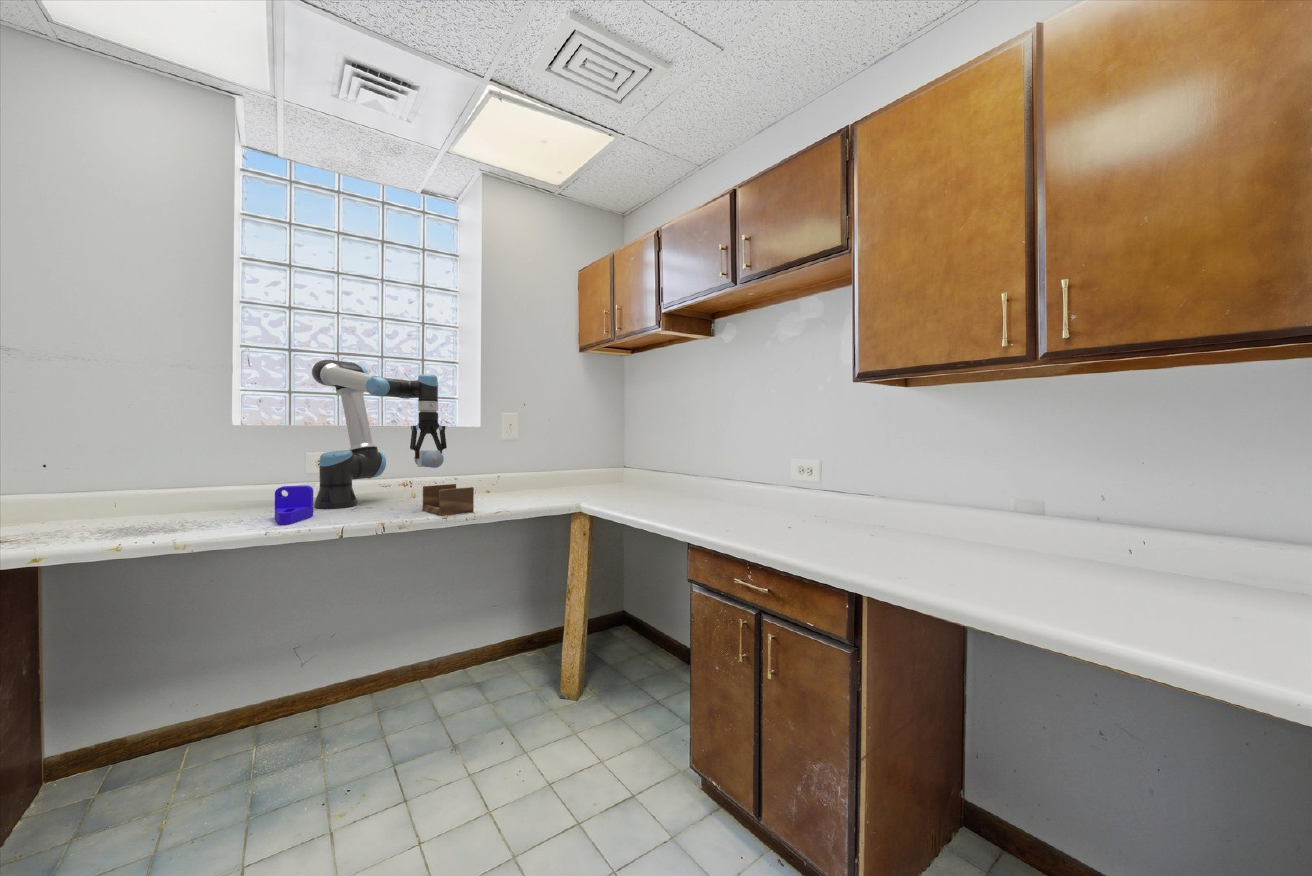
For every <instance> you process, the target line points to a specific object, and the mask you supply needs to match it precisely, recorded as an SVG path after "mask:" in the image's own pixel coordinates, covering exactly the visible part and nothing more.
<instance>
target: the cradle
mask: <svg viewBox="0 0 1312 876" xmlns="http://www.w3.org/2000/svg"><path fill="white" fill-rule="evenodd" d="M474 488H475V487H473V486H469V487H459V488H458V487H457V483H449V484H437V485H425V486H424V485H422V512H426V513H429V514H433V515H436V516H440V517H443V516H445V517H446V516H451V515H452V516H453V515H461V514H466V513H473V512H474V507H475V506H474V498H475V497H474V493H475V492H474Z"/></svg>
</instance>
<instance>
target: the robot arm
mask: <svg viewBox="0 0 1312 876" xmlns="http://www.w3.org/2000/svg"><path fill="white" fill-rule="evenodd" d="M311 376H312V378H313V379H314V381H316V383H318V384H320V385H323V386H326V387H333V388H334V387H335V392H336V394H337V395H339V396H340V397H341V403H342V408H343V412H344V417H345V422H346V429H347V434H348V439H349V444H350V448H349V449H343V450H332V451H327V452H323V453H322V454H320V456H319V461H318V462H319V463H318V466H319V489H318V492H317V495H316V497H315V500H314V502H313V508H315V509H322V510H323V509H324V510H325V509H328V510H329V509H343V508H350V507H351V508H352V507H355V506H357V505H358V502H357V501H358V500H357V497H356V493H355V491H354V489H353V481H354V480H363V479H373V478H378V477H379V476H382V474H383V473H384V471H385V469H386V467H387V458H386V455H385V454H384V453H382V452H381V451H379V449H378V446H377V445H375V444H374V443H373V438H372V433H371V427H370V423H369V418H368V414H367V409H366V408H367V407H366V403H365V399H364V393H368V394H369V395H371V396H375V397H391V398H399V399H418V406H417V407H418V411H419V412H418V423H417V424H416V425H410V429H411V435H410V445H409V449H410V450H412V451H414V457H415V459H417V464H416V465H417V466H416V467H417V468H422V451H421V447H422V445H423V443H424V440H425V436H426V435H428V434H430V435H431V437H432V439H433V441H434V445H435V447H436V449H437V450H435V451H439V452H440V453H441V454H442V455H443V450H446V449H447V439H446V425H440V423H439V412H437V411H439V382H438V377H437V376H436V375H435V374H419V375H418V376H417V380H415V379H414V380H409V379H408V380H407V379H397V378H390V377H383V376H380V375H374V374H370V373H369V371H368V369H367V368H366V367H365V366H364V365H362V364H360V363H355V362H352V361H350V362H349V361H340V360H335V359H322V360H321V359H320V360H319V361H318V362H316V363H315V364H313V366H312V369H311ZM418 430H420V432H419V436H418ZM437 430H439V435H438V432H437ZM417 436H418V437H417ZM417 438H418V439H417Z"/></svg>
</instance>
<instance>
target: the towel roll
mask: <svg viewBox="0 0 1312 876" xmlns="http://www.w3.org/2000/svg"><path fill="white" fill-rule="evenodd" d="M420 451H422V467H423V468H433V469H436V468H437V469H438V468H439V467H441V466H442V465H443V463H444V460H445V459H444V454H443V453H442V454H441V453H440V452H439V451H436V450H426V449H425V450H421V449H420ZM413 459H414V463H415V464H416V465H417V459H415V456H414V458H413ZM422 467H421V468H422Z"/></svg>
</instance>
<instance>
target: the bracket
mask: <svg viewBox="0 0 1312 876" xmlns="http://www.w3.org/2000/svg"><path fill="white" fill-rule="evenodd" d="M283 491H285V492H287V495H286V496H285V495H283V494H282V492H283ZM313 516H314V488H313V487H312V486H310V485H308V484H306V485H283V486H281V487H278V488H276V490H275V491H274V521H275V522H276V523H277V525H278V526H289V525H294V524H297V523H299V522H302V521H305V520H308V519H311V518H313Z"/></svg>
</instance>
